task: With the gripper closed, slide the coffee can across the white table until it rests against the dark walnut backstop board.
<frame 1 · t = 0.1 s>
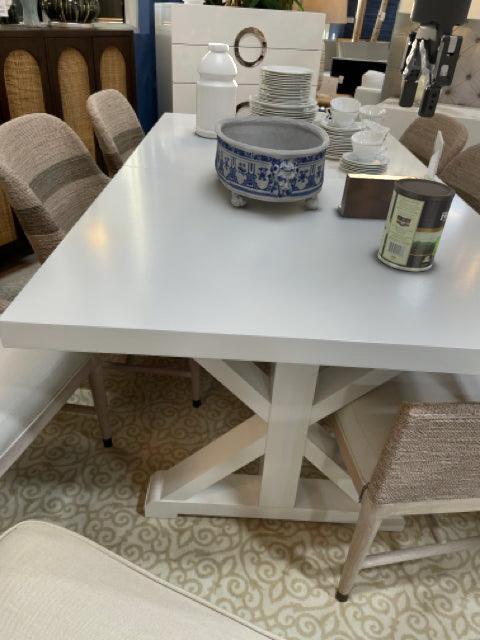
hand: (414, 111, 73), 26 cm above the table, tool pointing down, fingers open, 8 cm apart
decorative bowl: (265, 191, 119), on the table
bottle: (215, 135, 168), on the table
backstop: (374, 216, 109), on the table
coffee can: (403, 260, 90), on the table
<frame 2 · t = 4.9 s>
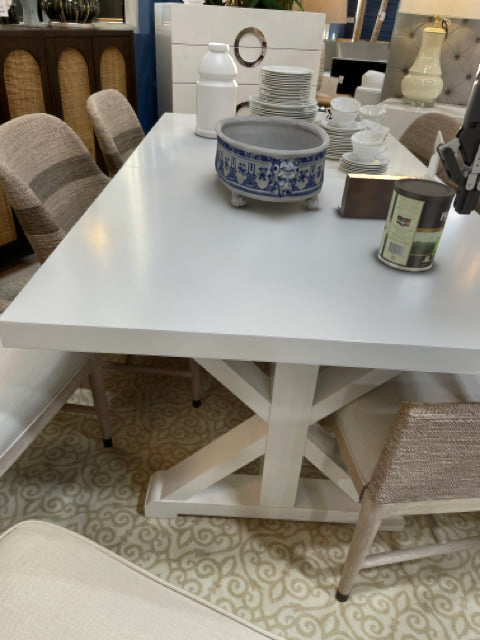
hand: (462, 212, 70), 15 cm above the table, tool pointing down, fingers closed
nothing on the table moved.
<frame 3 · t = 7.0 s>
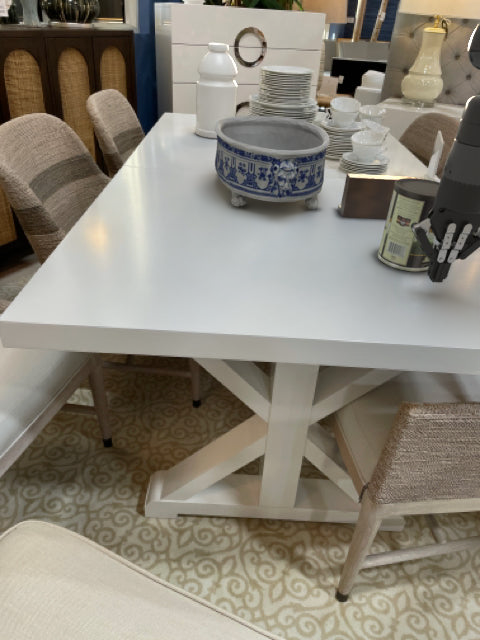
hand: (435, 280, 78), 3 cm above the table, tool pointing down, fingers closed
nothing on the table moved.
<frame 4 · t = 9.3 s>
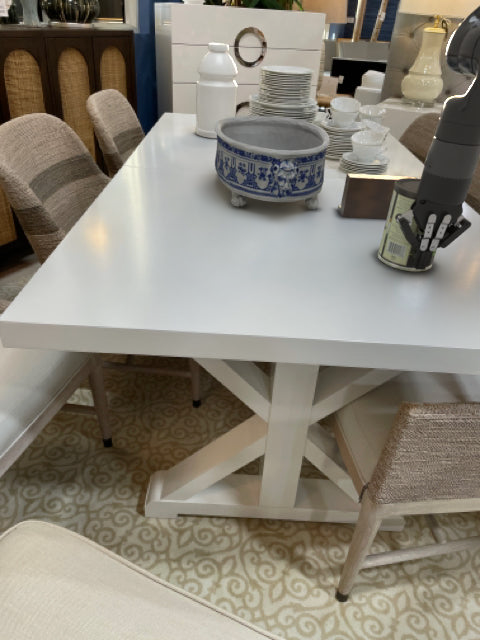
hand: (418, 267, 84), 1 cm above the table, tool pointing down, fingers closed
coffee can: (403, 260, 90), on the table, touching gripper
everything else where it was.
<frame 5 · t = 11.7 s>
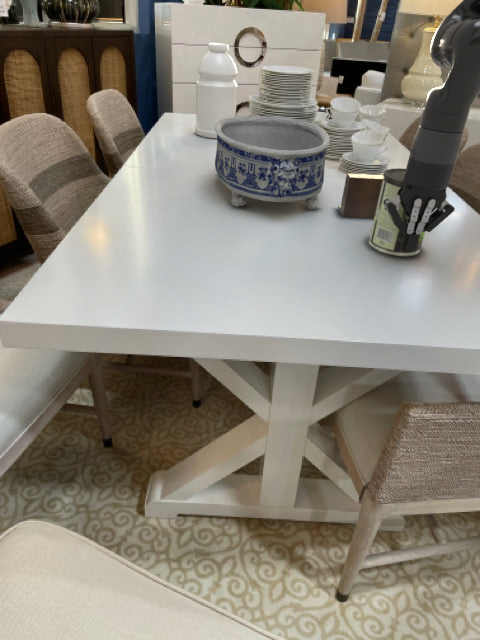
hand: (406, 250, 89), 2 cm above the table, tool pointing down, fingers closed
coffee can: (393, 246, 95), on the table, touching gripper
everything else where it was.
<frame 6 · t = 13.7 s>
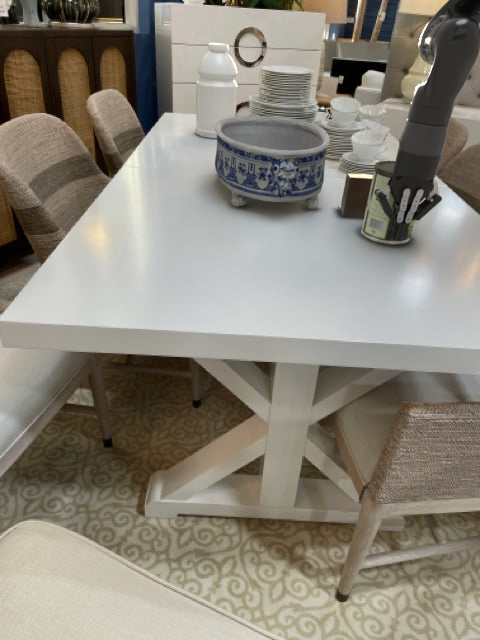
hand: (396, 238, 94), 2 cm above the table, tool pointing down, fingers closed
coffee can: (384, 235, 100), on the table, touching gripper
everything else where it was.
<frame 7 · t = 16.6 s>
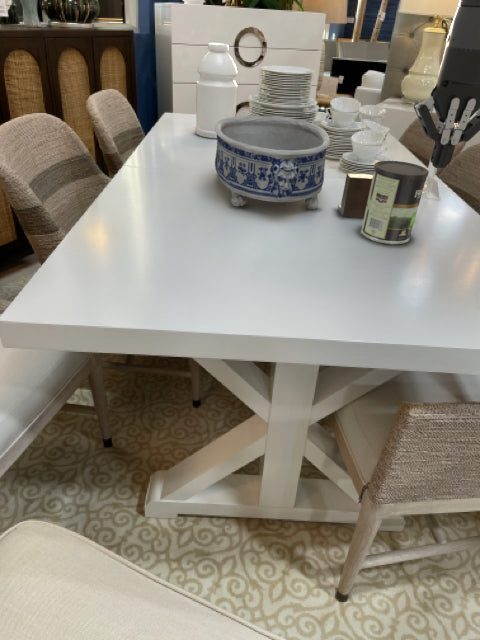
hand: (438, 166, 77), 18 cm above the table, tool pointing down, fingers closed
coffee can: (384, 235, 100), on the table
everything else where it was.
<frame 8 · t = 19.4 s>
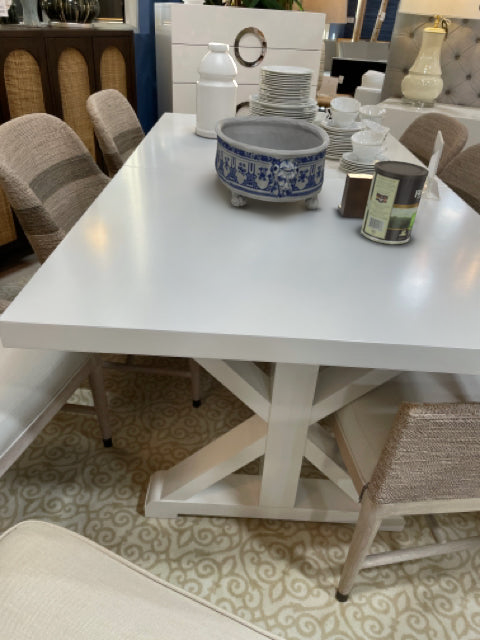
nothing on the table moved.
at the end: coffee can inside the target area (3.2 cm from its centre), on the table; coffee can 10.8 cm from the backstop (horizontally); coffee can tilted 0° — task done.
